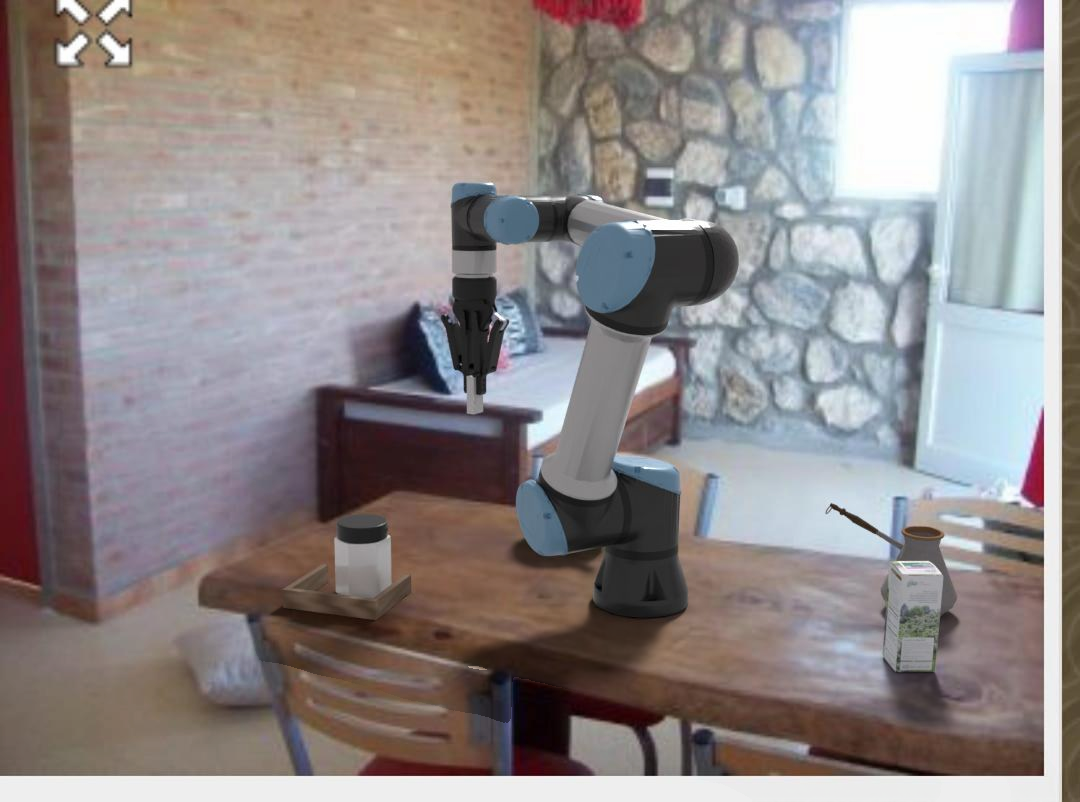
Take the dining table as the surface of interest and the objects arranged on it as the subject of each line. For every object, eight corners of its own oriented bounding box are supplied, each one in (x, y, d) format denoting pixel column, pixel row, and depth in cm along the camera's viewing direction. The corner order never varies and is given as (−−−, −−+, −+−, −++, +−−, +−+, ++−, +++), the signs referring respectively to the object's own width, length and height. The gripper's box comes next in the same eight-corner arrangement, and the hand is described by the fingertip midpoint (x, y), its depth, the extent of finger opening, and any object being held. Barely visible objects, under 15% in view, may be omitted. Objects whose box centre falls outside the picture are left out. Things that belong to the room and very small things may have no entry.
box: (411, 592, 193) (411, 574, 192) (376, 620, 181) (375, 601, 180) (323, 581, 198) (322, 563, 197) (283, 607, 186) (282, 589, 185)
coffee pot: (964, 607, 188) (972, 516, 185) (943, 629, 178) (950, 534, 176) (835, 580, 200) (839, 494, 197) (808, 600, 190) (813, 510, 187)
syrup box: (921, 656, 169) (928, 558, 166) (936, 673, 163) (944, 572, 160) (881, 656, 168) (888, 558, 166) (895, 674, 163) (902, 572, 160)
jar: (400, 594, 192) (398, 522, 190) (355, 605, 187) (353, 532, 185) (371, 579, 199) (370, 510, 197) (328, 589, 194) (326, 518, 192)
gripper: (518, 275, 199) (518, 413, 204) (457, 271, 206) (458, 405, 211) (492, 279, 193) (493, 420, 198) (430, 274, 200) (431, 411, 205)
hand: (475, 412), depth 204 cm, fingers closed
